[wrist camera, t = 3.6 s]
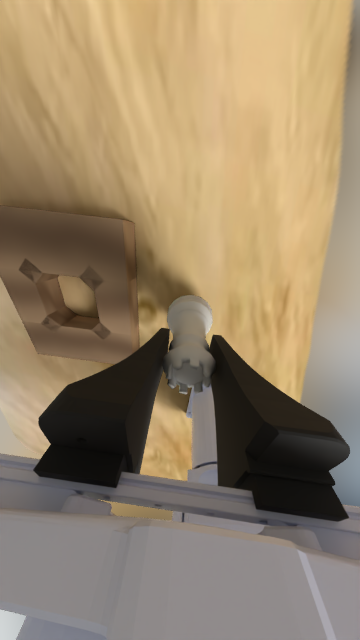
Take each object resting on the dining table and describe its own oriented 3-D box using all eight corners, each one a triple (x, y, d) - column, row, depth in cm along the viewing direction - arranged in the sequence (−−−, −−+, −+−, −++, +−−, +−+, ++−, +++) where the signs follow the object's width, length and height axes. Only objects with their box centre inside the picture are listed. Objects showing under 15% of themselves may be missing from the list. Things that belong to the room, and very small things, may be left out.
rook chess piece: (178, 285, 14) (166, 335, 7) (220, 304, 14) (248, 368, 7) (161, 322, 16) (138, 389, 9) (198, 337, 16) (204, 411, 9)
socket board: (139, 352, 20) (133, 366, 18) (54, 341, 20) (37, 353, 18) (134, 223, 13) (122, 219, 11) (2, 207, 13) (-36, 201, 11)
